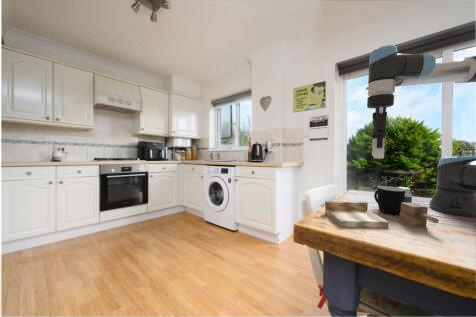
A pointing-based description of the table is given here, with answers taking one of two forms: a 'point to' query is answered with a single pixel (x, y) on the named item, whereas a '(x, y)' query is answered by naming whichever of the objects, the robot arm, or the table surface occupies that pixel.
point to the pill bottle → (407, 195)
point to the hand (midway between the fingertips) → (377, 157)
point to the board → (353, 214)
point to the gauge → (415, 215)
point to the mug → (389, 199)
